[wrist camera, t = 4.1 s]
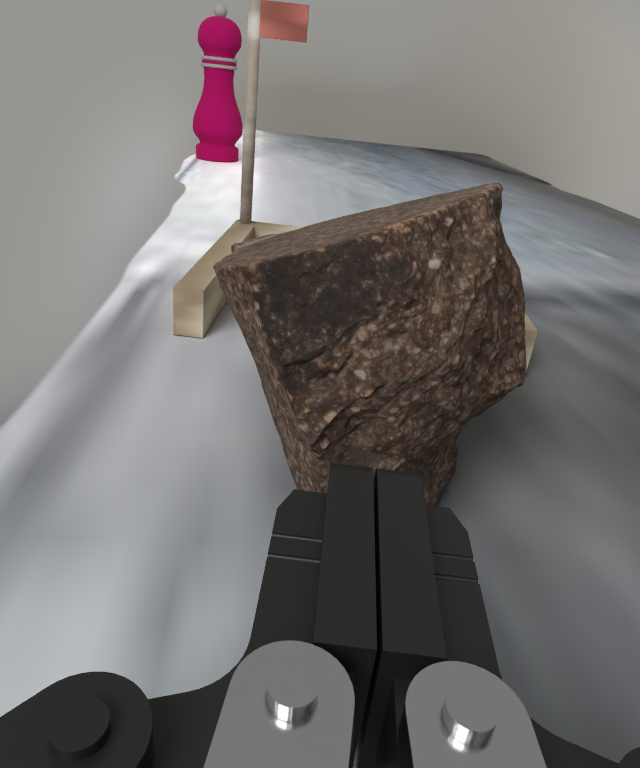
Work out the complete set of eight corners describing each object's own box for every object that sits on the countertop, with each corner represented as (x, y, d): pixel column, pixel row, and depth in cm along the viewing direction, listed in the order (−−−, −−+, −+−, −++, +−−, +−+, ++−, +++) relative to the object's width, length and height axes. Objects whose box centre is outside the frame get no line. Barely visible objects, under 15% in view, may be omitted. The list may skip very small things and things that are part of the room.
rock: (173, 278, 24) (384, 143, 24) (308, 474, 27) (494, 353, 27) (138, 325, 12) (556, 56, 12) (385, 667, 15) (717, 449, 15)
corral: (472, 281, 45) (529, 27, 38) (524, 377, 30) (635, -8, 23) (235, 252, 45) (245, -5, 38) (173, 334, 31) (169, -60, 23)
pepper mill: (216, 163, 86) (220, -1, 77) (182, 155, 89) (181, -2, 80) (251, 161, 91) (258, 8, 82) (217, 154, 95) (221, 6, 86)
